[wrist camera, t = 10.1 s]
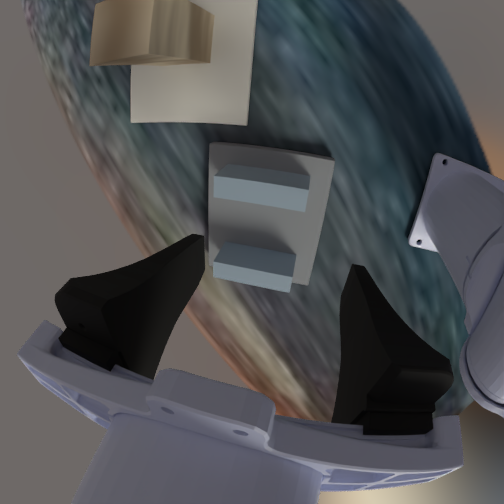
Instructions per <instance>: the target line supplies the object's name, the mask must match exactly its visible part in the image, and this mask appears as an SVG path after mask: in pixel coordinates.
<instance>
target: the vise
mask: <svg viewBox="0 0 504 504" xmlns="http://www.w3.org/2000/svg"><path fill="white" fill-rule="evenodd" d="M334 164H335V159H334V158H331V157H326V156H321V155H316V154H310V153H304V152H298V151H292V150H285V149H279V148H271V147H264V146H256V145H247V144H238V143H227V142H215V141H214V142H212V143H210V144H209V200H208V223H209V266H213V276H214V277H216V278H221V279H225V280H230V281H235V282H239V283H244V284H249V285H254V286H259V287H264V288H269V289H274V290H279V291H284V292H290V287H291V282H292V283H298V284H303V285H308V283H309V279H310V275H311V271H312V267H313V263H314V259H315V255H316V250H317V246H318V242H319V237H320V233H321V228H322V224H323V219H324V215H325V210H326V205H327V200H328V195H329V190H330V185H331V180H332V174H333V169H334Z"/></svg>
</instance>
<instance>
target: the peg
mask: <svg viewBox="0 0 504 504" xmlns="http://www.w3.org/2000/svg"><path fill="white" fill-rule="evenodd" d="M214 17H215V16H214V15H213V14H211V13H210V12H208V11H206V10H204V9H203V8H201V7H199V6H197V5H196V4H194V3H192V2H190V1H188V0H105V1H103V2H100V3H97V4H96V5H95V12H94V19H93V27H92V37H91V49H90V66H101V65H152V66H168V65H181V64H200V63H210V61H211V49H212V37H213V27H214Z"/></svg>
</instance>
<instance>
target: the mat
mask: <svg viewBox="0 0 504 504" xmlns="http://www.w3.org/2000/svg"><path fill="white" fill-rule="evenodd" d="M188 1H190V2H192V3H194V4H196V5H197V6H199V7H201V8H203V9H204V10H206V11H208V12H210V13H211V14H213V15H214V16H215V17H214V27H213V37H212V49H211V61H210V63H200V64H181V65H168V66H152V65H131V123H141V122H196V123H217V124H232V125H244V126H246V125H247V124H248V111H249V98H250V85H251V73H252V61H253V49H254V37H255V26H256V15H257V4H258V0H188Z"/></svg>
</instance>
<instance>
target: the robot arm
mask: <svg viewBox="0 0 504 504" xmlns="http://www.w3.org/2000/svg"><path fill="white" fill-rule="evenodd" d="M444 159H446V163H445V164H443V163H442V161H443V160H444ZM417 240H421V241H420V242H418V243H417ZM408 242H409V244H410V245H411V246H415V247H419V248H423V249H427V250H431V251H436V252H438V253H439V254H440V256H441V258H442V260H443V262H444V264H445V265H446V267H447V269H448V271H449V273H450V275H451V277H452V279H453V281H454V283H455V285H456V287H457V289H458V291H459V293H460V296H461V298H462V300H463V302H464V304H465V307H466V311H467V312H466V317H465V320H464V323H465V325H466V328H467V331H468V334H469V335H470V336H469V337H468V338H467V340H466V342H465V343H464V345H463V347H462V350H461V353H460V372H461V376H462V379H463V382H464V384H465V387H466V388H467V390H468V392H469V393H470V395H471V396H472V397H473V398H474V400H475V401H476V402H477V403H479V404H480V405H481V406H482V407H484V408H485V409H487V410H490V411H492V412H494V413H497V414H499V415H500V416H502V417H503V418H504V181H503V180H501V179H499V178H497V177H495V176H493V175H491V174H489V173H487V172H485V171H482V170H480V169H478V168H476V167H473V166H471V165H469V164H466V163H464V162H461V161H459V160H456V159H454V158H451V157H449V156H446V155H443V154H441V153H436V154H435V155H434V156H433V159H432V163H431V167H430V171H429V175H428V178H427V182H426V185H425V189H424V192H423V195H422V199H421V202H420V205H419V208H418V211H417V214H416V217H415V220H414V223H413V226H412V229H411V231H410V234H409V237H408ZM204 271H205V252H204V236H202V235H197V234H191V235H189V236H187V237H185V238H183V239H182V240H180V241H178V242H176V243H174V244H172V245H171V246H169V247H167V248H165V249H163V250H161V251H159V252H157V253H155V254H153V255H151V256H149V257H147V258H145V259H143V260H141V261H138V262H136V263H133V264H131V265H128V266H125V267H122V268H119V269H116V270H113V271H109V272H105V273H101V274H96V275H91V276H84V277H77V278H71V279H70V280H69V281H68V282H67V283H66V284H65V285H64V286H63V287H62V288H61V289H60V290H59V291H58V292H57V293H56V294H55V303H56V306H57V309H58V311H59V313H60V315H61V317H62V319H63V321H64V323H65V325H66V327H67V328H66V329H65V331H64V332H63V331H62V330H61V329H60V328H59V327H57V326H55V325H54V324H52V323H50V322H49V321H47V320H44V321H43V322H42V323H41V324H40V326H39V327H38V328H37V329H36V330H35V332H34V333H33V334H32V335H31V336H30V338H29V339H28V340H27V341H26V343H25V344H24V345H23V346H22V348H21V349H20V351H19V352H18V353H17V355H18V357H19V358H20V360H21V361H22V362H23V363H24V365H25V366H26V367H27V368H28V369H29V370H30V372H31V373H32V374H33V376H34V377H35V378H36V379H37V380H38V381H39V382H40V383H41V384H42V385H43V386H44V387H46V388H47V389H48V390H50V391H51V392H52V393H54V394H55V395H56V396H58V397H59V398H61V399H62V400H63V401H65V402H66V403H68V404H69V405H70V406H72V407H73V408H75V409H76V410H78V411H79V412H80V413H82V414H84V415H85V416H86V417H89V418H90V419H91V420H93V421H94V422H96V423H97V424H99V425H101V426H102V427H104V428H106V429H107V432H106V434H105V435H104V437H103V439H102V441H101V443H100V445H99V447H98V449H97V451H96V453H95V455H94V457H93V459H92V461H91V463H90V465H89V467H88V469H87V471H86V473H85V475H84V477H83V479H82V481H81V483H80V485H79V487H78V489H77V491H76V493H75V495H74V497H73V500H72V502H71V504H318V500H319V494H320V491H359V490H372V489H383V488H391V487H399V486H406V485H413V484H420V483H425V482H430V481H432V480H435V479H437V478H439V477H441V476H444V475H446V474H448V473H450V472H452V471H454V470H456V469H458V468H460V467H462V466H463V465H464V464H463V449H462V438H461V429H460V421H459V416H457V415H455V416H442V417H437V418H434V419H432V413H433V412H434V411H435V402H436V401H437V400H438V399H439V398H440V397H442V396H443V395H444V394H445V393H446V392H447V391H448V389H449V388H450V387H451V386H452V383H453V381H454V377H453V372H452V368H451V364H450V361H449V359H448V358H446V357H445V356H443V355H442V354H440V353H439V352H437V351H436V350H435V349H433V348H432V347H431V346H430V345H428V344H427V343H426V342H425V341H423V340H422V339H421V338H420V337H419V336H418V335H417V334H416V333H415V332H414V331H413V330H412V329H411V328H409V326H408V325H407V324H406V323H405V322H404V321H403V320H402V319H401V318H400V317H399V315H398V314H397V313H396V312H395V311H394V309H393V308H392V307H391V305H390V304H389V303H388V301H387V300H386V299H385V297H384V296H383V294H382V293H381V291H380V290H379V288H378V287H377V285H376V284H375V282H374V281H373V279H372V277H371V276H370V274H369V273H368V271H367V270H366V268H365V267H364V266H360V265H355V264H352V266H351V269H350V272H349V275H348V278H347V281H346V283H345V286H344V289H343V292H342V295H341V301H340V335H341V365H340V374H339V382H338V389H337V396H336V402H335V407H334V413H333V417H332V422H331V423H328V422H320V421H312V420H305V419H298V418H292V417H286V416H280V415H275V412H276V408H275V404H274V402H273V401H272V400H271V399H269V398H268V397H267V396H265V395H264V394H262V393H259V392H256V391H253V390H250V389H247V388H243V387H238V386H234V385H230V384H226V383H223V382H219V381H215V380H212V379H208V378H205V377H201V376H198V375H195V374H191V373H188V372H185V371H182V370H176V369H171V368H169V369H164V370H161V371H159V372H158V374H157V376H156V378H155V380H154V376H155V373H156V370H157V367H158V365H159V362H160V359H161V356H162V354H163V351H164V348H165V346H166V344H167V341H168V339H169V336H170V334H171V332H172V330H173V327H174V325H175V323H176V321H177V320H178V318H179V316H180V314H181V313H182V311H183V309H184V308H185V306H186V305H187V303H188V301H189V300H190V298H191V296H192V295H193V293H194V291H195V290H196V288H197V286H198V285H199V282H200V280H201V278H202V275H203V273H204Z"/></svg>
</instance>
